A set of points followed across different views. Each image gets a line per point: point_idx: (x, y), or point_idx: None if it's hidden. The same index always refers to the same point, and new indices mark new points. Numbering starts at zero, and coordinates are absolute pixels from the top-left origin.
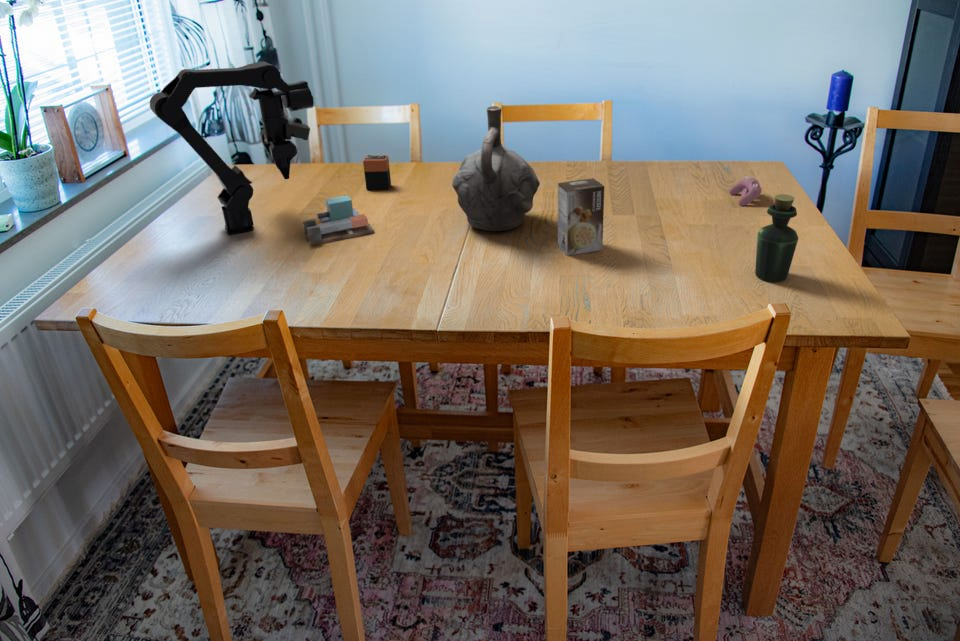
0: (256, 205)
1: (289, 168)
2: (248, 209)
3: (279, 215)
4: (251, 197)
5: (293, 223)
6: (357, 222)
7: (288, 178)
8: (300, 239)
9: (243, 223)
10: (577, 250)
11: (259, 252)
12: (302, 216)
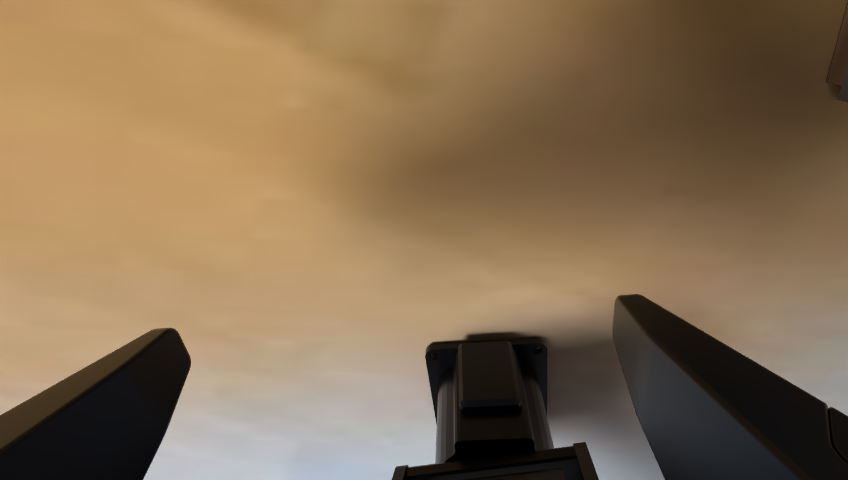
0: (195, 303)
1: (797, 394)
2: (493, 409)
3: (379, 210)
4: (562, 470)
5: (545, 145)
6: None
7: (637, 299)
8: (834, 128)
9: (539, 395)
10: None
11: (836, 329)
12: (449, 78)
